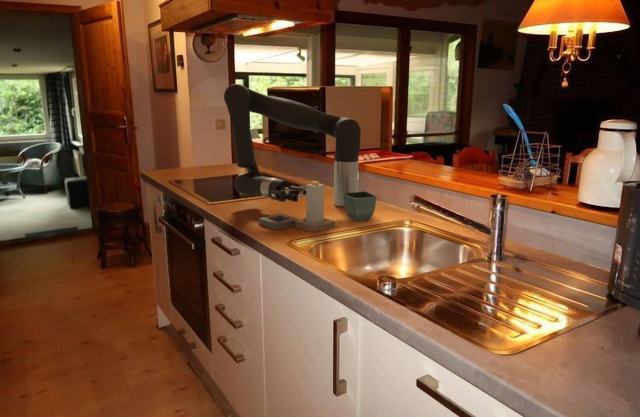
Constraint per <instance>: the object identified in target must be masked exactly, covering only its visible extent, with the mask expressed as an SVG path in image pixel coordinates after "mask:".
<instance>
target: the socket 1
mask: <svg viewBox="0 0 640 417" xmlns="http://www.w3.org/2000/svg"><path fill="white" fill-rule="evenodd" d="M299 219H300V218H298V217H294V216H290V215H287V214H284V213H278V214H273V215H269V216H263V217H259V218H258V225H260V226H263V227H265V228H269V229H272V230H275V231H279V230H284V229H288V228H291V227H295V226H294V221H295V220H299Z"/></svg>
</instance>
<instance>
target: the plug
mask: <svg viewBox="0 0 640 417" xmlns="http://www.w3.org/2000/svg"><path fill="white" fill-rule="evenodd" d="M305 187H306V196H305V198H306V199H305V200H306V201H305V204H306V205H305V212H306V213H305V218H306V222H309V223H313V224H317V223H321V222H324V218H325V216H324V214H325V213H324V212H325V210H324V208H325V204H324V203H325V198H324V196H325V185H324V184H322V183H320V182H319V181H317V180H316V181H315V180H312V181H310V183H308V184H305Z"/></svg>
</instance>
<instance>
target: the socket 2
mask: <svg viewBox="0 0 640 417" xmlns="http://www.w3.org/2000/svg"><path fill="white" fill-rule="evenodd" d="M298 219H299V220H295V221H294V226H293V227H295V228H297V229H298V228H299V229H301V230H305V231H307V232H310V233H318V232H323V231H325V230H329V229H333V228H336V222H337V221H336V220H334V219H330V218H327V217H324V222H321V223H317V224H313V223H309V222H306V217H304V218H298Z"/></svg>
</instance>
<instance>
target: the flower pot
mask: <svg viewBox="0 0 640 417" xmlns="http://www.w3.org/2000/svg"><path fill="white" fill-rule="evenodd" d="M343 196H344V205H345V207H344V210H345V212H346V214H347V216H348V217H349V219H350V220H352V221H353V222H355V223H360V222H367V221H368V222H369V221H370V220H371V218H372V217H373V215H374V213H375V209H376V205H377V198H378V197H377V195H375V194H372V193H370V192H368V191H366V190H365V191H359V192H353V193H343Z"/></svg>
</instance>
